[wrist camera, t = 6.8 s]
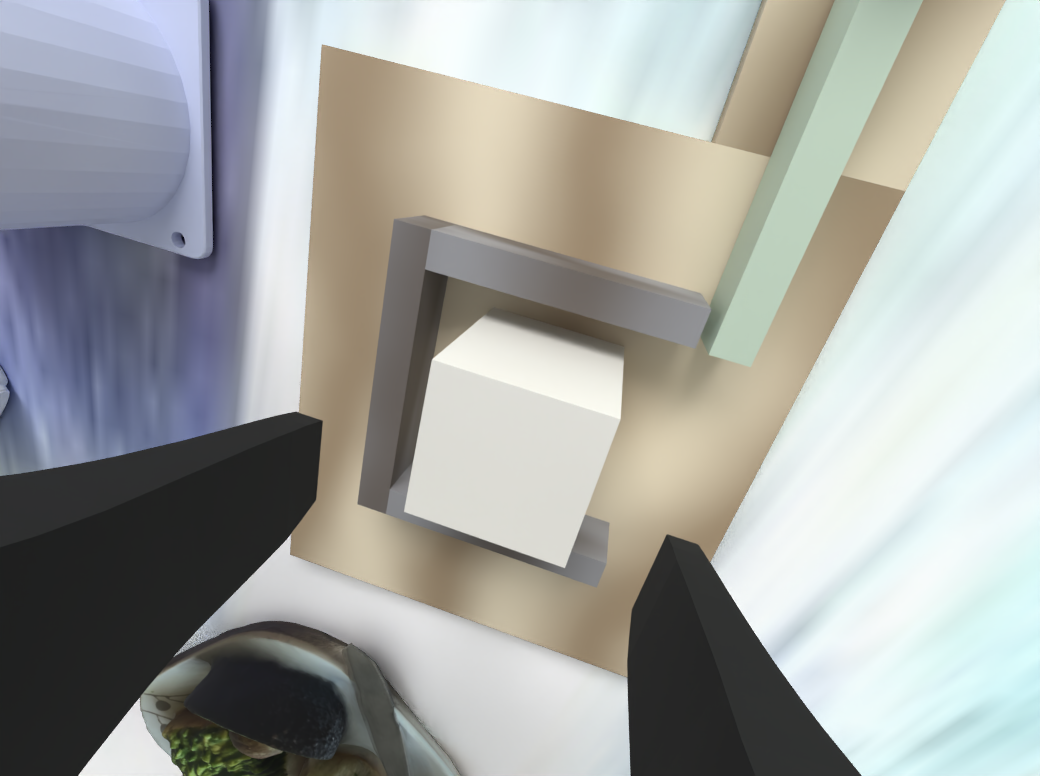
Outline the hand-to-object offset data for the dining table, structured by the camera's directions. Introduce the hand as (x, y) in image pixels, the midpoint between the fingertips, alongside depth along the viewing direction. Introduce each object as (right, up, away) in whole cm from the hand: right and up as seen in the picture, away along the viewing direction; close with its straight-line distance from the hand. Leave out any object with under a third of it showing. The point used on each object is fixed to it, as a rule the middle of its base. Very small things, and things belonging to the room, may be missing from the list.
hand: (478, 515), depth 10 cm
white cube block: (+1, +3, +5) cm, 6 cm away
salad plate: (-10, -16, +17) cm, 26 cm away
